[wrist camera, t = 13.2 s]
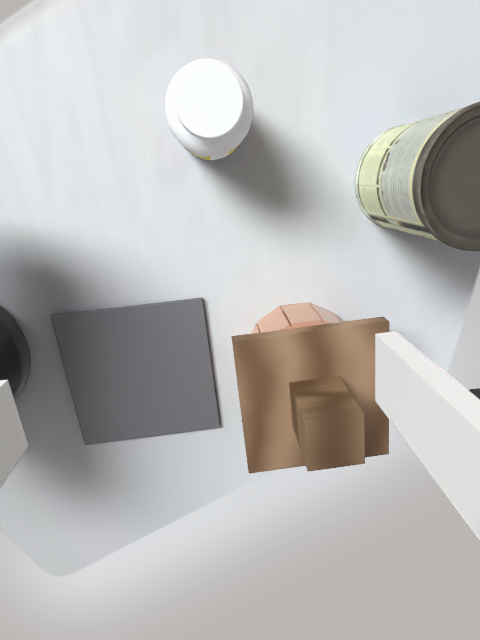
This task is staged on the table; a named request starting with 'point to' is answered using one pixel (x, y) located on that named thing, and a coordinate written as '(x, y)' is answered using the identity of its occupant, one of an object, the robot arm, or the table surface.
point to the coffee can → (426, 178)
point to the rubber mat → (139, 370)
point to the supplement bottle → (209, 108)
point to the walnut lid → (311, 396)
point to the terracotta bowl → (295, 318)
